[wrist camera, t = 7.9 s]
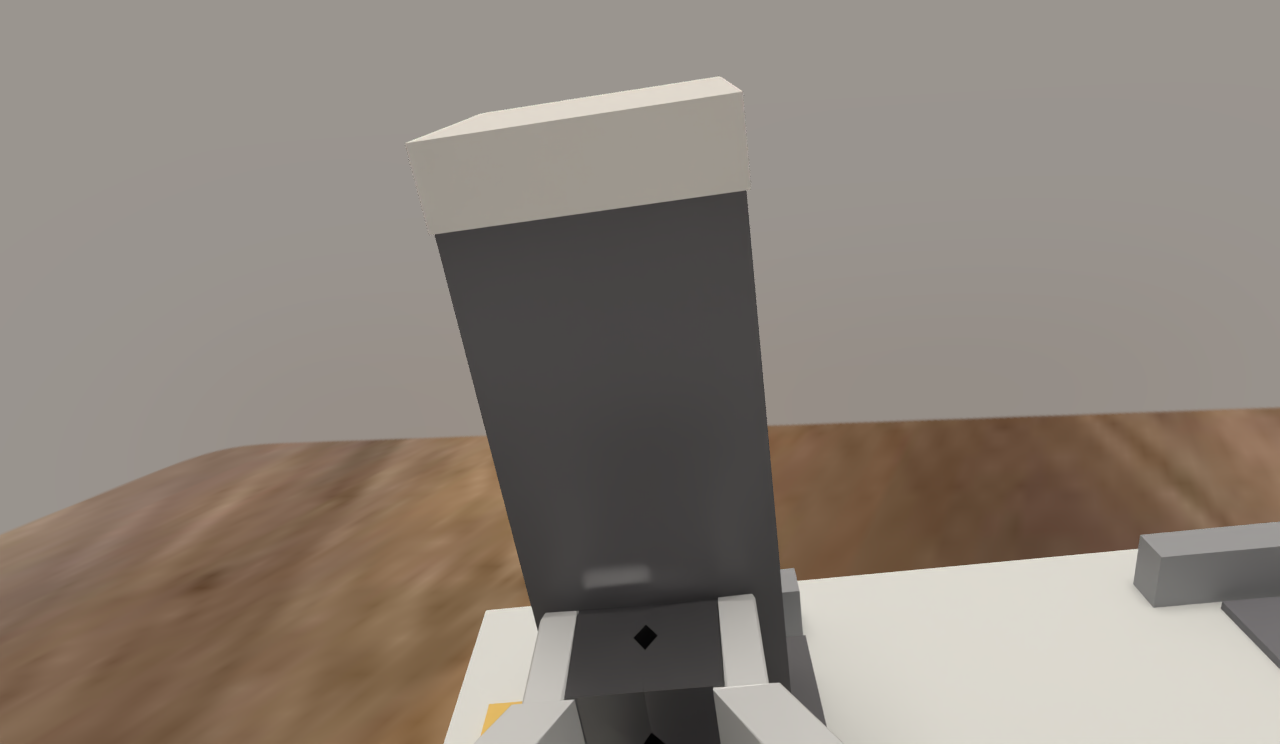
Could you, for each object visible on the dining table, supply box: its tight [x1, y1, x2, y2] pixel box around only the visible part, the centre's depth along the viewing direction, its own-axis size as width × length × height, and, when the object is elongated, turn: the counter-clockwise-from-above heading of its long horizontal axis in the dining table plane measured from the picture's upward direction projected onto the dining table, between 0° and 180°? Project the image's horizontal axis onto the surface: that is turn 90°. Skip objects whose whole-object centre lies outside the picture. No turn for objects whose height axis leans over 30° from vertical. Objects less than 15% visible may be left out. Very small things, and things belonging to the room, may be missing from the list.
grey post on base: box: [405, 76, 827, 727], centre depth 12 cm, size 5×5×12 cm
